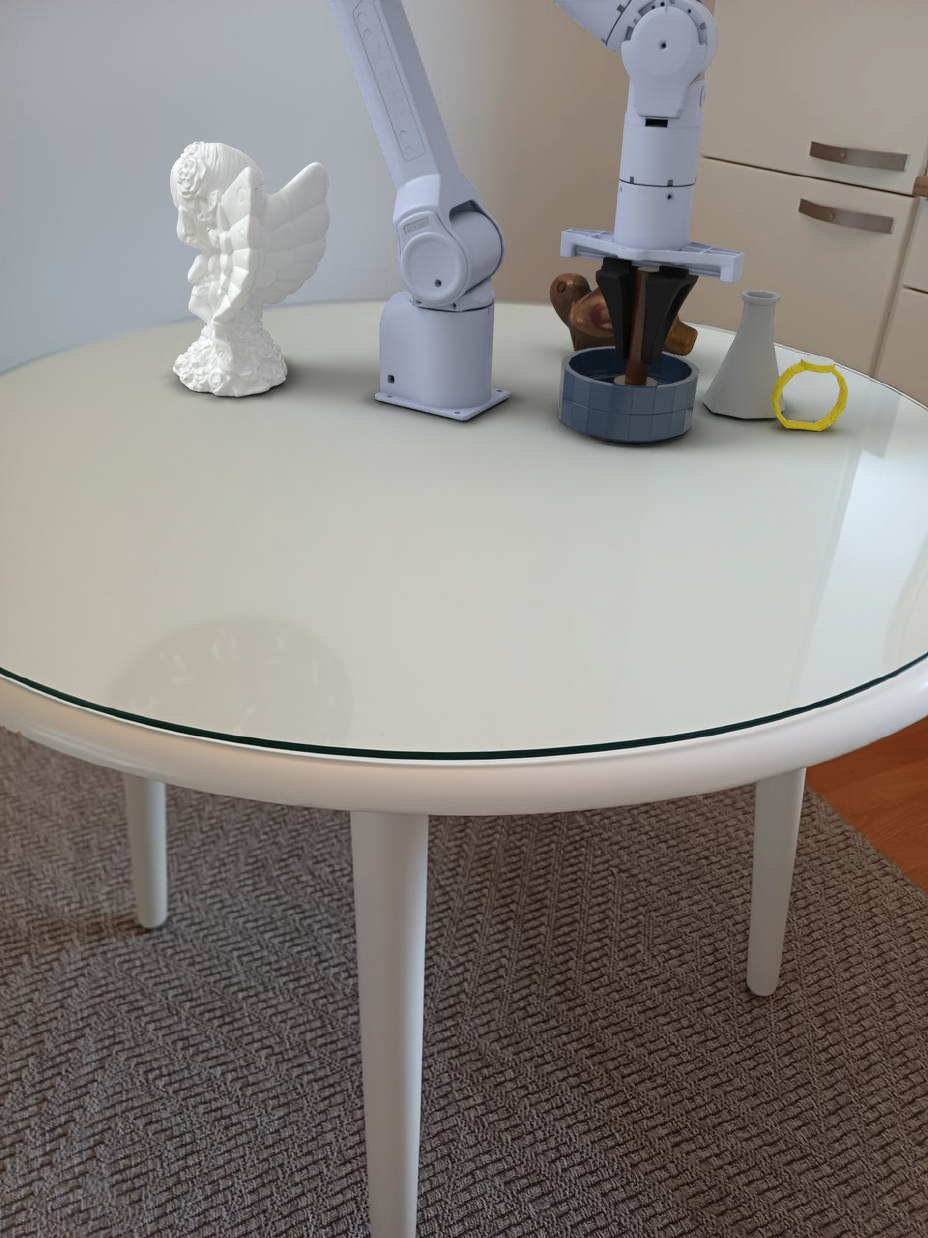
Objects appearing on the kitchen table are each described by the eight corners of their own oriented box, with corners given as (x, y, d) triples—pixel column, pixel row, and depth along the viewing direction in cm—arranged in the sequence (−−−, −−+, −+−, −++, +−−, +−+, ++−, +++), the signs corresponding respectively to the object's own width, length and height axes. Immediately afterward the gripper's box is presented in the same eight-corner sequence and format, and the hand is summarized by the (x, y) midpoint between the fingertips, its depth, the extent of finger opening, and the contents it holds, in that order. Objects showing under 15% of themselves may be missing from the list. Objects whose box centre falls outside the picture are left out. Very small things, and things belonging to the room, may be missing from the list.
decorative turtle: (553, 338, 114) (564, 259, 110) (696, 366, 110) (713, 286, 106) (527, 359, 105) (538, 275, 102) (680, 390, 102) (698, 304, 98)
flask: (786, 425, 93) (808, 307, 88) (701, 417, 94) (717, 300, 89) (782, 398, 99) (803, 286, 94) (702, 391, 100) (718, 280, 95)
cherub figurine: (233, 347, 108) (215, 127, 98) (342, 366, 104) (335, 139, 94) (148, 384, 98) (118, 143, 88) (265, 407, 93) (248, 156, 83)
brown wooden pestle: (605, 394, 89) (617, 270, 84) (623, 383, 92) (636, 261, 87) (645, 403, 88) (660, 277, 83) (663, 391, 90) (678, 268, 85)
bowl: (534, 428, 91) (538, 370, 88) (593, 393, 99) (598, 338, 96) (659, 458, 86) (666, 397, 83) (710, 418, 94) (718, 361, 91)
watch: (771, 432, 91) (783, 363, 88) (764, 421, 94) (776, 353, 91) (842, 435, 91) (857, 365, 88) (833, 423, 94) (847, 355, 91)
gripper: (546, 176, 82) (536, 354, 89) (731, 198, 75) (704, 388, 82) (588, 166, 87) (575, 334, 94) (764, 186, 81) (736, 365, 87)
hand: (637, 358), depth 88 cm, fingers closed on brown wooden pestle, 2 cm apart
